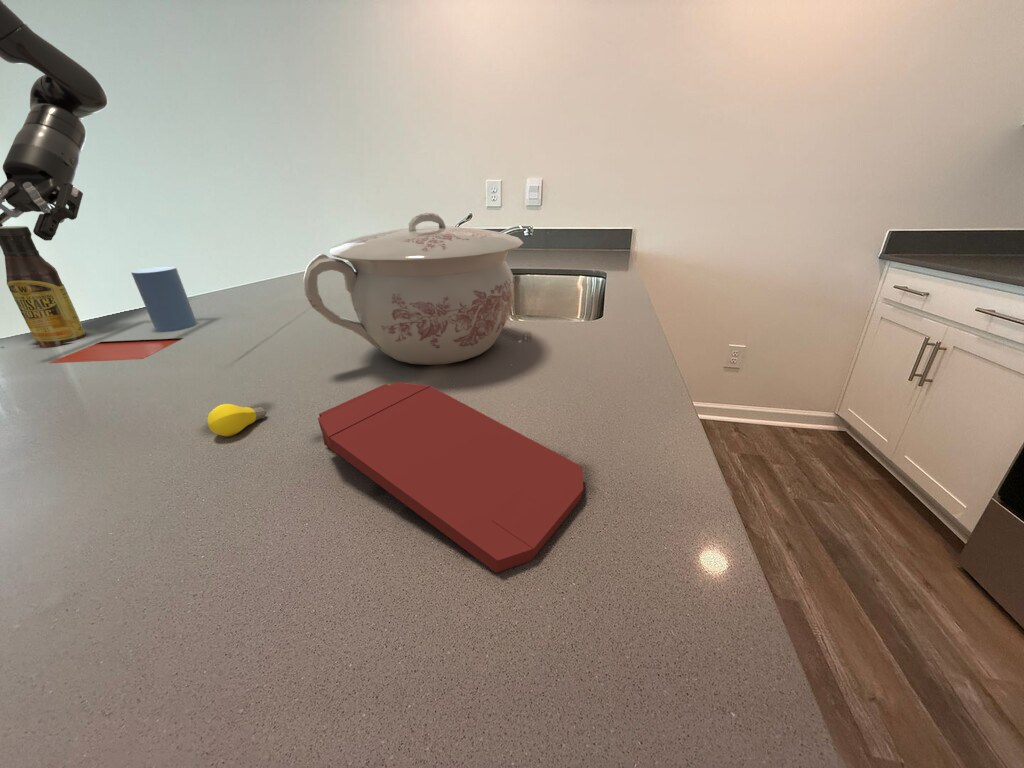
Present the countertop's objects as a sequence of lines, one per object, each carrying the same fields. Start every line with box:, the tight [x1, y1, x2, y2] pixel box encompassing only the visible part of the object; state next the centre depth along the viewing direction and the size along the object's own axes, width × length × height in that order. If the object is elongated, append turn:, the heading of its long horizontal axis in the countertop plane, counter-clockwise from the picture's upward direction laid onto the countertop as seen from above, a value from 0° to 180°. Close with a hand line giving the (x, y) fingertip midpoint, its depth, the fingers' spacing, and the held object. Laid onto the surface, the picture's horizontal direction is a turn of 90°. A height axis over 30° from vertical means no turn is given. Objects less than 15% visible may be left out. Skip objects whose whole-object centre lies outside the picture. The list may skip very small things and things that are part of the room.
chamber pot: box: [302, 212, 524, 366], centre depth 62 cm, size 28×28×21 cm
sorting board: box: [49, 337, 184, 364], centre depth 72 cm, size 14×20×1 cm
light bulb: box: [206, 403, 267, 437], centre depth 45 cm, size 3×6×4 cm, turn 156°
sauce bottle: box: [0, 225, 86, 348], centre depth 68 cm, size 6×6×20 cm
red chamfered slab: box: [317, 381, 584, 574], centre depth 38 cm, size 12×5×25 cm
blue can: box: [130, 266, 198, 333], centre depth 75 cm, size 6×6×11 cm
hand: (13, 238), depth 65 cm, fingers open, 8 cm apart
